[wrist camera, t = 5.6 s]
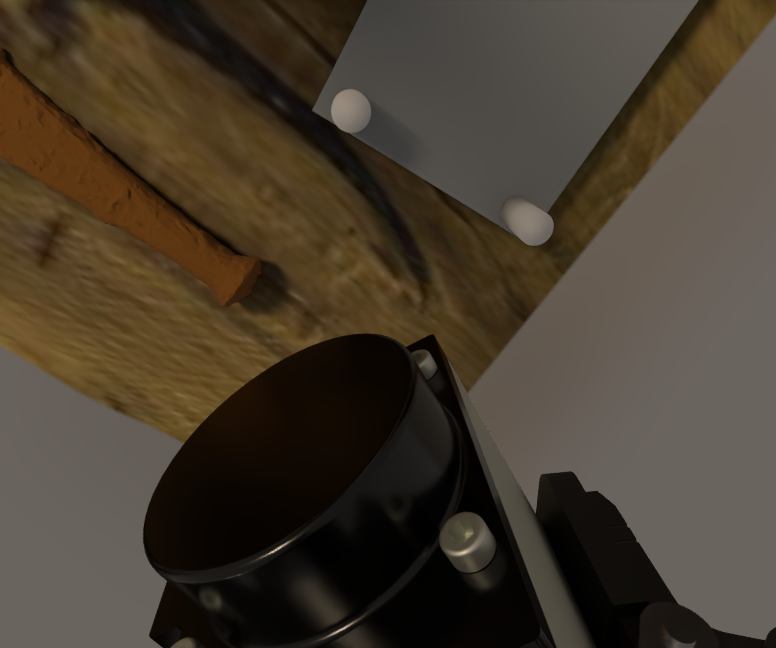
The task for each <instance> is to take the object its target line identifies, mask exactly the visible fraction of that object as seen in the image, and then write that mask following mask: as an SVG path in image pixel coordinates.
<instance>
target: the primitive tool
mask: <svg viewBox="0 0 776 648" xmlns="http://www.w3.org/2000/svg"><path fill="white" fill-rule="evenodd" d="M0 158H2V159H4V160H6V161H8V162H10V163H11V164H13V165H15V166H16V167H18V168H20V169H21V170H23V171H24V172H27V173H29V174H30V175H31V176H33V177H34V178H36V179H37V180H38V181H40V182H42V183H43V184H45V185H46V186H48V187H50V188H52V189H54V190H55V191H57V192H59V193H61V194H63V195H64V196H66V197H68V198H71V199H73V200H74V201H76V202H77V203H78V204H80V205H82V206H83V207H85V208H86V209H89V210H91V212H92V213H93V214H94V215H95V216H96V217H97V218H98V219H99V220H101V221H102V222H104V223H106V224H109V225H113V226H117V227H120V228H122V229H123V230H124V231H126V232H128V233H129V234H130V235H132V236H134V237H135V238H137V239H138V240H140V241H141V242H144V243H147V244H148V245H150V246H151V247H152V248H154V249H155V250H156V251H158V252H159V253H161V254H163V255H165V256H167V257H168V258H170V259H171V260H173V261H174V262H176V263H177V264H179V265H180V266H181V267H182V268H183V269H185V270H187V271H189V272H190V273H191V274H192V275H194V276H195V277H196V278H198V279H199V280H201V281H202V282H204V283H205V284H206V285H208V286H209V287H210V288H211V289H212V290H213V291H214V292H215V293H216V295H217V296H218V298H219V301H220V303H221V306H223V307H228V306H230V305H231V304H233V303H236V302H238V301H240V300H242V299H243V297H245V296H248V295H249V294H250V293H251V292H252V288H253V286H254V284H255V283H256V281H257V278H258V275H261V262H260V259H259V257H248V256H239V255H236V254H235V253H233V252H232V251H231V250H230V249H229V248H227V247H225V246H223V245H221V244H220V243H219V242H218V241H217V240H215V239H214V237H213V236H212V235H210V234H209V233H207V232H205V231H204V230H202V229H200V228H199V227H198V226H196V225H195V224H194V223H193V222H192V221H190V220H189V219H188V218H186V217H185V216H184V215H183V213H181V212H180V211H178V210H177V209H176V208H174V207H173V206H171V205H170V204H168V203H167V202H166V201H165V200H164V199H162V198H161V197H160V196H159V195H157V194H156V193H155V192H154V191H153V190H152V189H151V188H150V187H149V186H148V185H147V184H146V183H145V182H143V181H141V180H140V179H139V178H138V177H137V176H136V175H134V174H133V173H132V172H130V171H129V170H128V169H127V168H125V167H124V166H123V165H122V164H121V163H120V162H119V161H117V160H116V159H115V158H114V157H113V156H112V155H110V154H109V153H108V152H107V151H106V150H105V149H104V148H103V147H102V146H101V145H100V144H98V143H96V142H95V140H94V138H93V137H92V136H91V135H90V134H89V132H88V131H87V130H85V129H83V128H82V127H80V126H79V125H78V124H77V123H76V121H75V120H74V119H73V118H72V117H71V116H70V115H69V114H65V113H63V112H61V110H60V109H59V108H58V107H57V106H56V105H54V104H53V103H51V102H50V101H49V100H48V99H47V98H46V97H45V96H44V95H43V94H42V93H41V92H40V91H39V90H38V89H37V88H36V87H35V86H33V85H32V84H31V83H30V82H29V81H28V80H27V79H26V78H25V77H24V76H23V75H22V74H21V73H20V72H19V71H17V70H16V69H15V68H14V67H12V65H11V64H10V63H9V62H8V61H7V59H6V53H5V52H4V51H3V49H2V48H1V47H0Z"/></svg>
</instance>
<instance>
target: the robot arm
mask: <svg viewBox="0 0 776 648" xmlns="http://www.w3.org/2000/svg"><path fill="white" fill-rule="evenodd" d="M536 516H537V517H538V519H539V521H540V523H541V524H542V526H543V528H544V530H545V532H546V535H547V537H548V539H549V541H550V544H551V546H552V548H553V550H554V552H555V555H556V557H557V559H558V561H559V564H560V566H561V568H562V570H563V573H564V575H565V577H566V579H567V581H568V584H569V586H570V588H571V590H572V593H573V595H574V597H575V599H576V602H577V604H578V606H579V608H580V610H581V613H582V615H583V617H584V619H585V622H586V624H587V626H588V628H589V631H590V633H591V635H592V637H593V639H594V642H595V644H596V646H597V648H776V628H774V629H772V630H771V631H770V632H769V633H768V635H767V638H766V640H761V639H755V638H751V637H746V636H740V635H735V634H730V633H725V632H722V631H718V630H716V629H713V628H711V627H710V626H709V624H708V623H707V622H706V621H704V619H703V618H701V617H700V616H699V615H698V614H696V613H695V612H693V611H692V610H690V609H688V608H686V607H684V606H681V605H679V604H678V603H677V601H676V600H675V599H674V597H673V596H672V594H671V592H670V591H669V589H668V588H667V586H666V585H665V583H664V582H663V580H662V578H661V577H660V575H659V574H658V572H657V570H656V569H655V567H654V566H653V564H652V563H651V561H650V559H649V558H648V556H647V555H646V553H645V552H644V550H643V548H642V547H641V545H640V544H639V543H637V541H636V538H635V536H634V534H633V533H632V531H631V530H630V528H628V527H627V523H626V522H625V520H624V519H623V517H622V516H621V514H620V512H619V511H618V509H617V508H616V506H615V505H614V504H613V503H611V502H610V501H609V500H608V499H606V498H605V497H604V496H603V495H601V494H600V493H599V492H598V491H591V492H585V490H584V489H583V487H582V485H581V483H580V482H579V480H578V478H577V477H576V475H575V474H574V473H573V472H571V471H570V472H560V473H550V474H542V475H541V476H540V481H539V490H538V499H537V508H536Z"/></svg>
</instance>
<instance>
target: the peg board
mask: <svg viewBox="0 0 776 648" xmlns="http://www.w3.org/2000/svg"><path fill="white" fill-rule="evenodd" d="M698 1H699V0H367V2H366V4H365V6H364V8H363V10H362V12H361V14H360V16H359V18H358V20H357V22H356V24H355V26H354V28H353V30H352V32H351V34H350V36H349V38H348V40H347V42H346V44H345V46H344V48H343V50H342V52H341V54H340V56H339V58H338V60H337V62H336V64H335V66H334V68H333V70H332V72H331V74H330V76H329V78H328V80H327V82H326V84H325V86H324V88H323V90H322V92H321V94H320V96H319V98H318V100H317V102H316V104H315V106H314V108H313V110H312V111H314V112H316V113H317V114H319V115H320V116H322V117H324V118H325V119H327V120H328V121H330V122H332V123H333V124H335V125H336V126H337V127H338V128H339V129H341V130H342V131H344V132H348V133H350V134H351V135H353V136H354V137H356V138H358V139H359V140H361V141H362V142H364V143H366V144H367V145H369V146H371V147H372V148H374V149H375V150H377V151H379V152H380V153H382V154H384V155H385V156H387V157H388V158H390V159H392V160H393V161H395V162H396V163H398V164H400V165H401V166H403V167H405V168H406V169H408V170H409V171H411V172H413V173H414V174H416V175H418V176H419V177H421V178H422V179H424V180H426V181H427V182H429V183H431V184H432V185H434V186H435V187H437V188H439V189H440V190H442V191H443V192H445V193H447V194H448V195H450V196H452V197H453V198H455V199H456V200H458V201H460V202H461V203H463V204H465V205H466V206H468V207H469V208H471V209H473V210H474V211H476V212H477V213H479V214H481V215H482V216H484V217H486V218H487V219H489V220H490V221H492V222H494V223H495V224H497V225H499V226H500V227H502V228H503V229H505V230H507V231H508V232H510V233H511V234H513V235H515V236H516V237H518V238H520V239H521V240H522V241H523V242H524V243H526V244H527V245H531V246H537V245H541V244H543V243H544V242H546V241H547V240H548V239H549V238H550V236H551V235H552V232H553V229H554V223H553V220H552V218H551V217H550V215H548V214H547V212H548V211H549V210H550V208H551V207H552V205H553V204H554V202H555V201H556V200H557V198H558V197H559V195H560V194H561V193H562V191H563V190H564V188H565V187H566V186H567V184H568V183H569V181H570V180H571V179H572V177H573V176H574V174H575V173H576V172H577V170H578V169H579V167H580V166H581V165H582V163H583V162H584V160H585V159H586V158H587V156H588V155H589V153H590V152H591V151H592V149H593V148H594V146H595V145H596V144H597V142H598V141H599V139H600V138H601V137H602V135H603V134H604V132H605V131H606V130H607V128H608V127H609V125H610V124H611V123H612V121H613V120H614V118H615V117H616V116H617V114H618V113H619V111H620V110H621V109H622V107H623V106H624V104H625V103H626V102H627V100H628V99H629V97H630V96H631V95H632V93H633V92H634V90H635V89H636V87H637V86H638V85H639V83H640V82H641V80H642V79H643V78H644V76H645V75H646V73H647V72H648V71H649V69H650V68H651V66H652V65H653V64H654V62H655V61H656V59H657V58H658V57H659V55H660V54H661V52H662V51H663V50H664V48H665V47H666V45H667V44H668V43H669V41H670V40H671V38H672V37H673V36H674V34H675V33H676V31H677V30H678V29H679V27H680V26H681V24H682V23H683V22H684V20H685V19H686V17H687V16H688V15H689V13H690V12H691V10H692V9H693V8H694V6H695V5H696V3H697V2H698Z"/></svg>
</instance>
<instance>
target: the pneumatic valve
mask: <svg viewBox="0 0 776 648" xmlns="http://www.w3.org/2000/svg"><path fill="white" fill-rule="evenodd" d="M143 543H144V549H145V554H146V556H147V558H148V561H149V562H150V564H151V566H152V567H153V568H154V569H155V571H156V572H157V573H158V574H159V575H160V576H162V577H163V578H164V579H165V580H166V581H167V583H166V586H165V589H164V592H163V595H162V598H161V601H160V604H159V607H158V610H157V613H156V616H155V619H154V622H153V625H152V628H151V631H150V634H149V637H150V638H151V639H152V640H154V641H155V642H156V643H157V644H159V645H160V646H161V647H163V648H597V646H596V644H595V642H594V639H593V637H592V635H591V633H590V631H589V628H588V626H587V624H586V622H585V619H584V617H583V615H582V613H581V610H580V608H579V606H578V604H577V602H576V599H575V597H574V595H573V593H572V590H571V588H570V586H569V584H568V581H567V579H566V577H565V575H564V573H563V570H562V568H561V566H560V564H559V561H558V559H557V557H556V555H555V552H554V550H553V548H552V546H551V544H550V541H549V539H548V537H547V535H546V532H545V530H544V528H543V526H542V524H541V523H540V521H539V519H538V517H537V516H536V514H535V512H534V510H533V509H532V507H531V505H530V503H529V502H528V500H527V498H526V496H525V494H524V493H523V491H522V489H521V487H520V486H519V484H518V482H517V480H516V479H515V477H514V475H513V473H512V471H511V470H510V468H509V466H508V464H507V463H506V461H505V459H504V457H503V456H502V454H501V452H500V450H499V449H498V447H497V445H496V443H495V442H494V440H493V438H492V436H491V435H490V433H489V431H488V429H487V427H486V426H485V424H484V422H483V421H482V419H481V417H480V415H479V413H478V412H477V410H476V408H475V406H474V404H473V403H472V401H471V399H470V397H469V396H468V394H467V392H466V390H465V389H464V387H463V385H462V383H461V382H460V380H459V378H458V376H457V374H456V373H455V371H454V369H453V367H452V366H451V364H450V362H449V360H448V359H447V357H446V355H445V353H444V352H443V350H442V348H441V346H440V345H439V343H438V341H437V339H436V337H435V336H434V335H429V336H427V337H425V338H423V339H421V340H419V341H417V342H415V343H413V344H411V345H409V346H407V347H405V346H404V345H403V344H401V343H400V342H398V341H396V340H395V339H392V338H390V337H387V336H383V335H378V334H367V333H365V334H352V335H346V336H341V337H337V338H333V339H330V340H326V341H323V342H320V343H318V344H315V345H312V346H310V347H308V348H305V349H303V350H301V351H299V352H297V353H295V354H293V355H291V356H289V357H287V358H285V359H283V360H282V361H280V362H278V363H276V364H275V365H273V366H271V367H270V368H268V369H267V370H265V371H264V372H262V373H261V374H259V375H258V376H256V377H255V378H253V379H252V380H251V381H249V382H248V383H247V384H245V385H244V386H243V387H241V388H240V389H239V390H238V391H236V392H235V393H234V394H233V395H231V396H230V397H229V398H228V399H227V400H226V401H224V402H223V403H222V404H221V405H220V406H219V407H218V408H217V409H216V410H215V411H214V412H213V413H212V414H210V415H209V416H208V417H207V418H206V420H205V421H204V422H203V423H202V424H201V425H200V426H199V427H198V428H197V429H196V430H195V431H194V432H193V434H192V435H191V436H190V437H189V438H188V440H187V441H186V442H185V443H184V445H183V446H182V447H181V449H180V450H179V451H178V453H177V454H176V456H175V457H174V458H173V459H172V461H171V463H170V464H169V466H168V468H167V469H166V471H165V472H164V474H163V475H162V477H161V479H160V481H159V483H158V485H157V487H156V489H155V491H154V493H153V495H152V498H151V501H150V503H149V506H148V509H147V513H146V516H145V522H144V527H143Z"/></svg>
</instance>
